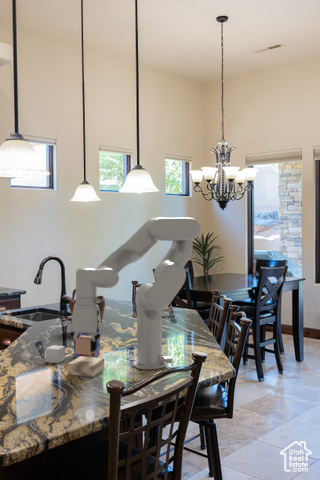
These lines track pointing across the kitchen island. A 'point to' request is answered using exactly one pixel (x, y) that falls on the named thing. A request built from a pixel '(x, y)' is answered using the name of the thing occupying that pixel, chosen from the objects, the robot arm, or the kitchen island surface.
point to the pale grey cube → (55, 354)
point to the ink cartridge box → (94, 354)
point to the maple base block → (86, 366)
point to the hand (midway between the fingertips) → (85, 350)
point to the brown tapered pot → (100, 304)
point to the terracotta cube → (83, 345)
